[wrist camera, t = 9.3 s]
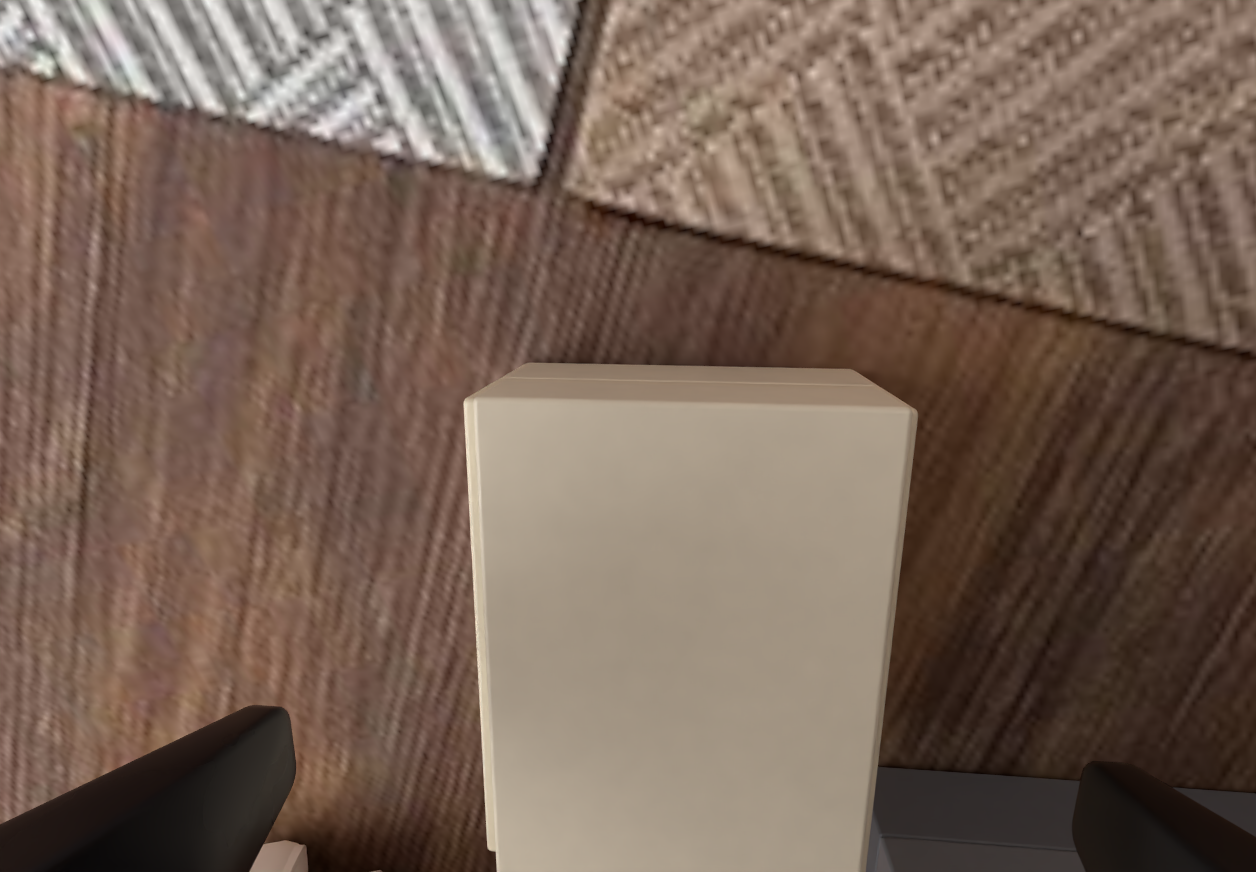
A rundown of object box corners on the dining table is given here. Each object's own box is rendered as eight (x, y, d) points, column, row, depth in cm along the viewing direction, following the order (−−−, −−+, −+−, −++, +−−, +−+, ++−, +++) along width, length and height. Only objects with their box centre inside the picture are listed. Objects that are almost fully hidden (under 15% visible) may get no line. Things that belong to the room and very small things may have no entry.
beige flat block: (833, 894, 10) (851, 973, 9) (518, 868, 11) (498, 939, 10) (885, 388, 9) (915, 407, 7) (498, 380, 9) (470, 397, 8)
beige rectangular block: (855, 368, 12) (920, 409, 9) (822, 730, 14) (865, 885, 10) (525, 361, 13) (461, 398, 9) (535, 711, 14) (485, 853, 11)
